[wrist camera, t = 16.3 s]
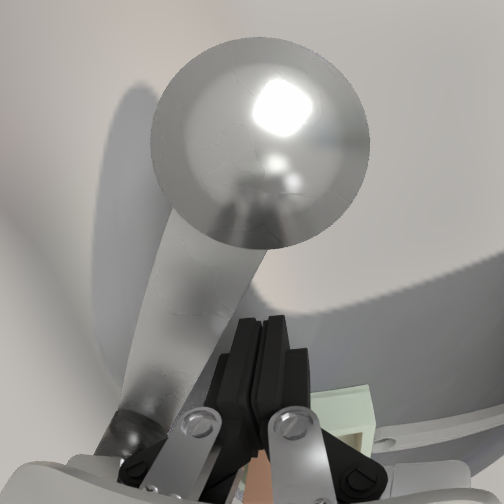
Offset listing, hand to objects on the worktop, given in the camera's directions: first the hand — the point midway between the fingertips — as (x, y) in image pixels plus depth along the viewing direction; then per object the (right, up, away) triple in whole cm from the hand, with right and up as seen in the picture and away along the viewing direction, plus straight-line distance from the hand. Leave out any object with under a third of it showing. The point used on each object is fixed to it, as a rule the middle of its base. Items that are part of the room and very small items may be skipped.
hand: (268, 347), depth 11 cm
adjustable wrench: (+21, -10, +6) cm, 24 cm away
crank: (-2, +3, +1) cm, 4 cm away
